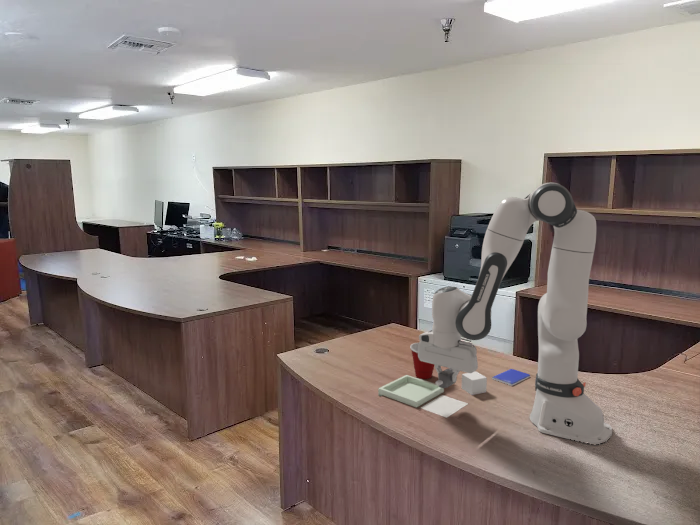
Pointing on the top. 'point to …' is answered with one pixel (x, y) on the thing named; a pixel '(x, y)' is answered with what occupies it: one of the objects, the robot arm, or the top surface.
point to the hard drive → (511, 377)
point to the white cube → (474, 383)
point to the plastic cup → (421, 364)
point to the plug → (445, 378)
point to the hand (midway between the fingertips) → (447, 379)
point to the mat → (444, 406)
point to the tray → (410, 390)
